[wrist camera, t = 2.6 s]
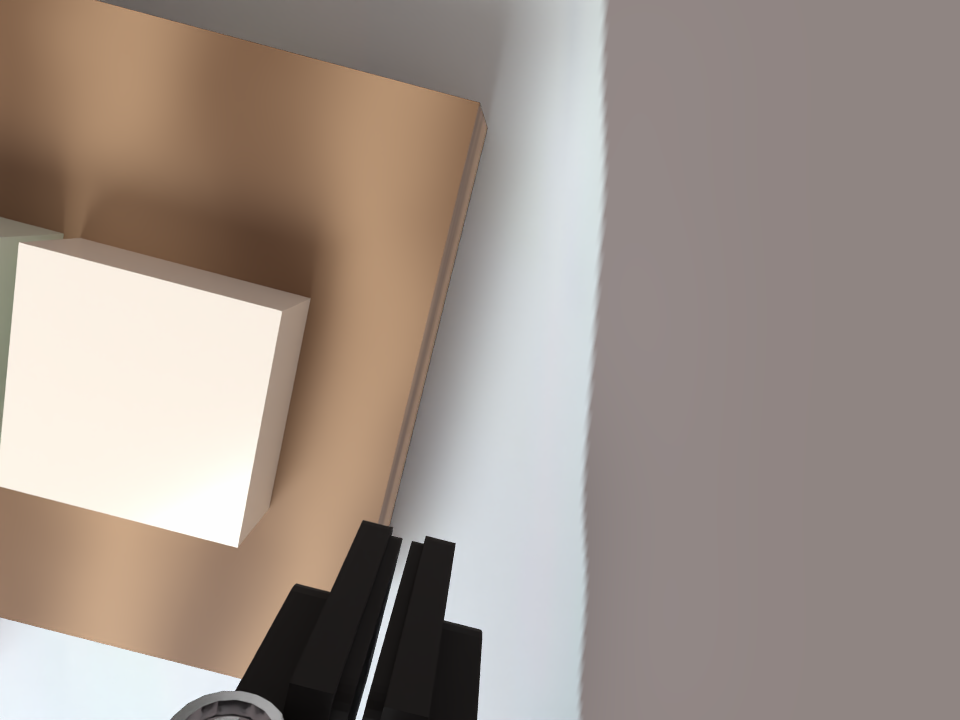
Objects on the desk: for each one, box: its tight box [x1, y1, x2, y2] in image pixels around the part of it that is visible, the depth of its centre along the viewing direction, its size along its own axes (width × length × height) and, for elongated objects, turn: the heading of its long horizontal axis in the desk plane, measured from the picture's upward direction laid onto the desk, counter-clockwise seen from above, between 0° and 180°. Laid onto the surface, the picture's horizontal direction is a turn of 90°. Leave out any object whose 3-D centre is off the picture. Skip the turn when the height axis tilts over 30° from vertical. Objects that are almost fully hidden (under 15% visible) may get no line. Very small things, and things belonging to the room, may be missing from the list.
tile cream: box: [0, 238, 311, 548], centre depth 19 cm, size 7×7×2 cm
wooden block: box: [0, 0, 487, 679], centre depth 23 cm, size 24×20×6 cm
